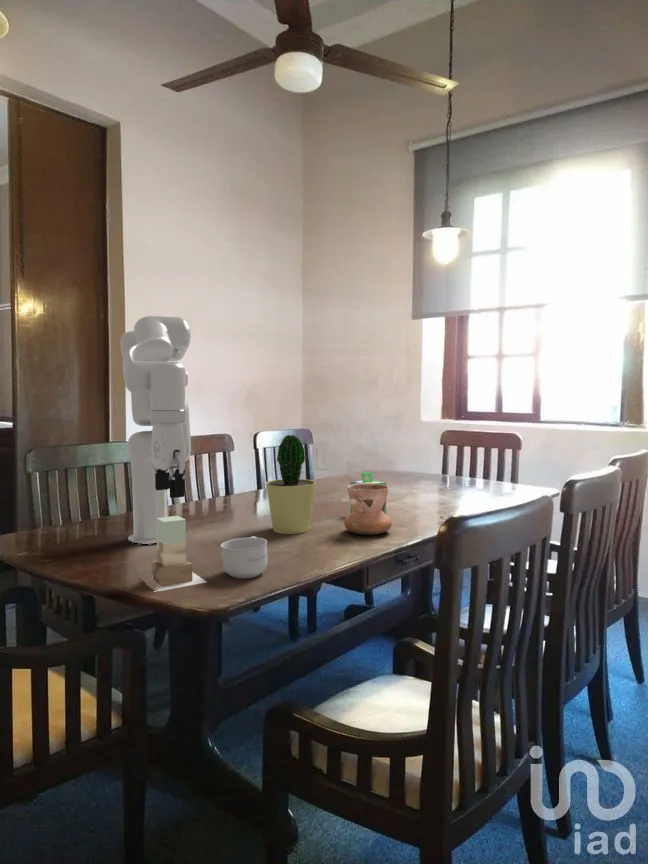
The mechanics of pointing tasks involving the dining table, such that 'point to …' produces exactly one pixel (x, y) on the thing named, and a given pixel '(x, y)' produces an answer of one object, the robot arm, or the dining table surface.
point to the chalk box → (367, 482)
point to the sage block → (171, 529)
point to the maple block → (171, 553)
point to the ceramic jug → (368, 509)
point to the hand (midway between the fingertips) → (169, 493)
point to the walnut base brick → (171, 573)
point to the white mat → (195, 579)
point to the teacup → (244, 556)
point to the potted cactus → (291, 490)
